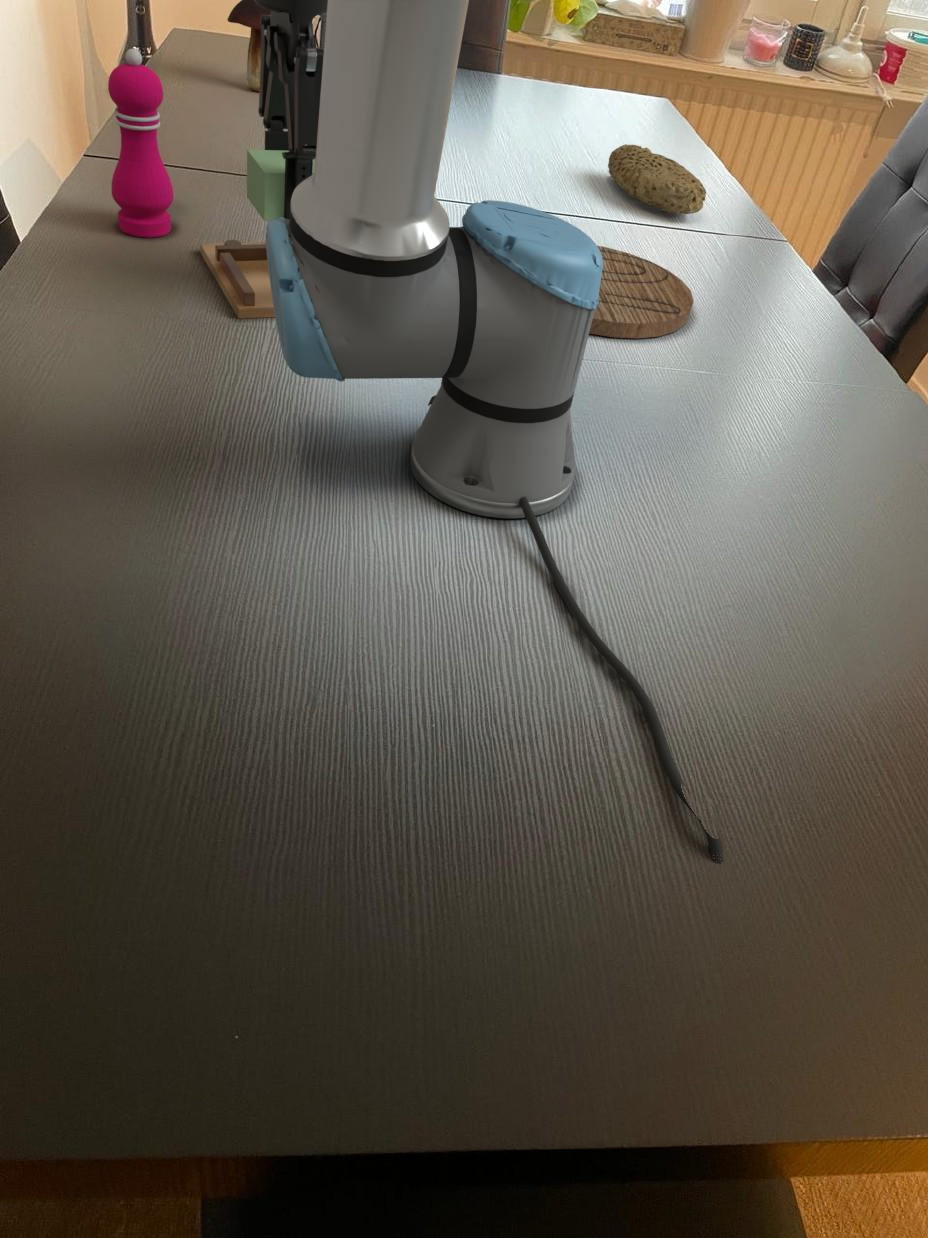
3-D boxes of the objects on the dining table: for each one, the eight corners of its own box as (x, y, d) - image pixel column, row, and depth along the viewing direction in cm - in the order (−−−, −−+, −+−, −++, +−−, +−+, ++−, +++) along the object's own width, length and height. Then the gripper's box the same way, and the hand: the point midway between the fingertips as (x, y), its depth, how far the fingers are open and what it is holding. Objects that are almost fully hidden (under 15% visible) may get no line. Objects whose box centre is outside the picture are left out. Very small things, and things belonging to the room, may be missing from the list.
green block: (326, 220, 108) (329, 172, 105) (263, 220, 105) (264, 172, 102) (307, 196, 112) (309, 150, 109) (246, 196, 110) (246, 149, 106)
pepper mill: (160, 244, 120) (149, 61, 107) (103, 231, 121) (86, 47, 108) (184, 225, 126) (177, 49, 113) (130, 213, 126) (117, 36, 113)
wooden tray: (358, 312, 114) (360, 290, 112) (238, 318, 108) (238, 295, 107) (311, 250, 126) (311, 229, 124) (200, 253, 120) (199, 230, 118)
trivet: (710, 347, 120) (715, 333, 119) (510, 325, 117) (512, 310, 115) (665, 267, 139) (669, 253, 138) (491, 245, 135) (493, 232, 134)
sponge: (594, 184, 167) (629, 199, 150) (610, 135, 164) (649, 145, 147) (662, 207, 171) (705, 225, 154) (680, 160, 167) (725, 172, 150)
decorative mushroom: (216, 83, 176) (214, -15, 167) (268, 80, 183) (269, -14, 173) (251, 101, 171) (251, 1, 161) (303, 98, 177) (306, 1, 168)
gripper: (227, -65, 99) (230, 173, 114) (285, -20, 86) (279, 242, 101) (300, -57, 102) (293, 174, 117) (366, -12, 89) (348, 241, 104)
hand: (286, 205), depth 109 cm, fingers closed on green block, 7 cm apart
